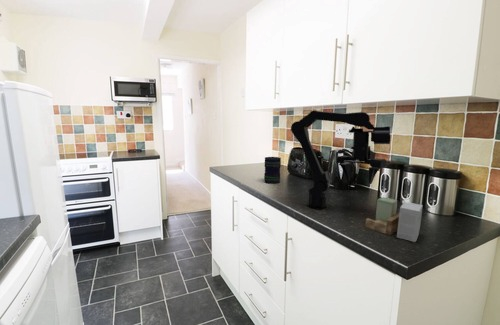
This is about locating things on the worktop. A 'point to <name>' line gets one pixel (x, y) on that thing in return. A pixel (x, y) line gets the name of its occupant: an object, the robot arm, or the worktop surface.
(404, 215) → the small box
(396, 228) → the wooden stepped block
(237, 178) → the worktop surface
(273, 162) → the storage jar
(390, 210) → the green rectangular block
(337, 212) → the worktop surface
